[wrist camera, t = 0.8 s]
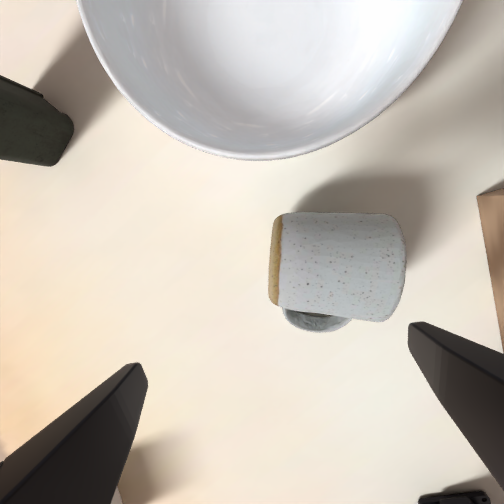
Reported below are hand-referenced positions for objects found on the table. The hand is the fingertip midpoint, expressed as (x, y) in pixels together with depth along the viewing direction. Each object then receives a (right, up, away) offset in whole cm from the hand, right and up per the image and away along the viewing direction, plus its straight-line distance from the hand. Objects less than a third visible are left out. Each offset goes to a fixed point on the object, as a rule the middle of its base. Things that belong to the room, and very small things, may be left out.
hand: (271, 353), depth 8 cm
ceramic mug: (+5, +2, +14) cm, 15 cm away
